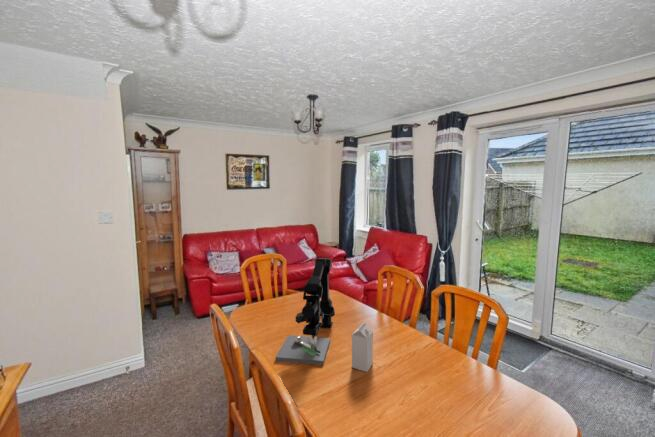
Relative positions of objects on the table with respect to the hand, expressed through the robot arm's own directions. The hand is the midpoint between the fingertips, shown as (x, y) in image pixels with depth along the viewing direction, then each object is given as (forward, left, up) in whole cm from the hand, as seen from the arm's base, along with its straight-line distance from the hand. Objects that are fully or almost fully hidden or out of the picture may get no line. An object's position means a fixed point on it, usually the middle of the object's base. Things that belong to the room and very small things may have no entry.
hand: (314, 339), depth 143 cm
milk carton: (+8, +23, -6) cm, 26 cm away
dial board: (0, -5, -6) cm, 8 cm away
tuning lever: (+1, -3, -4) cm, 5 cm away
